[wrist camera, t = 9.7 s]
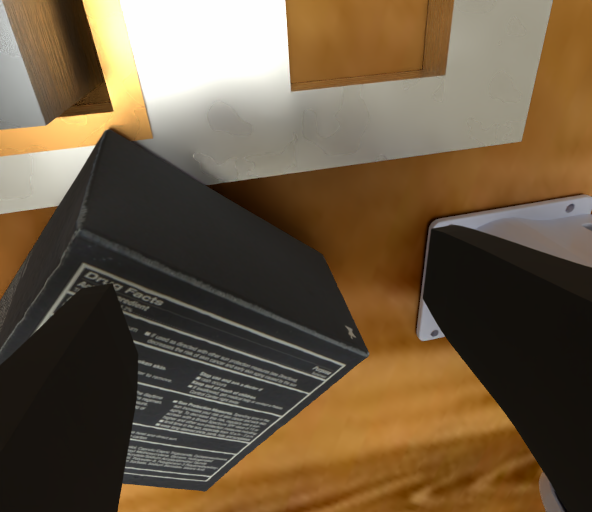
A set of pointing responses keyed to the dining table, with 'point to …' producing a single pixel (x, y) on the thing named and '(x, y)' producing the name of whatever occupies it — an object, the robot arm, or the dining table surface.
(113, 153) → the small box
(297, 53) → the dining table surface
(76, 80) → the post
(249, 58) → the rail plate
